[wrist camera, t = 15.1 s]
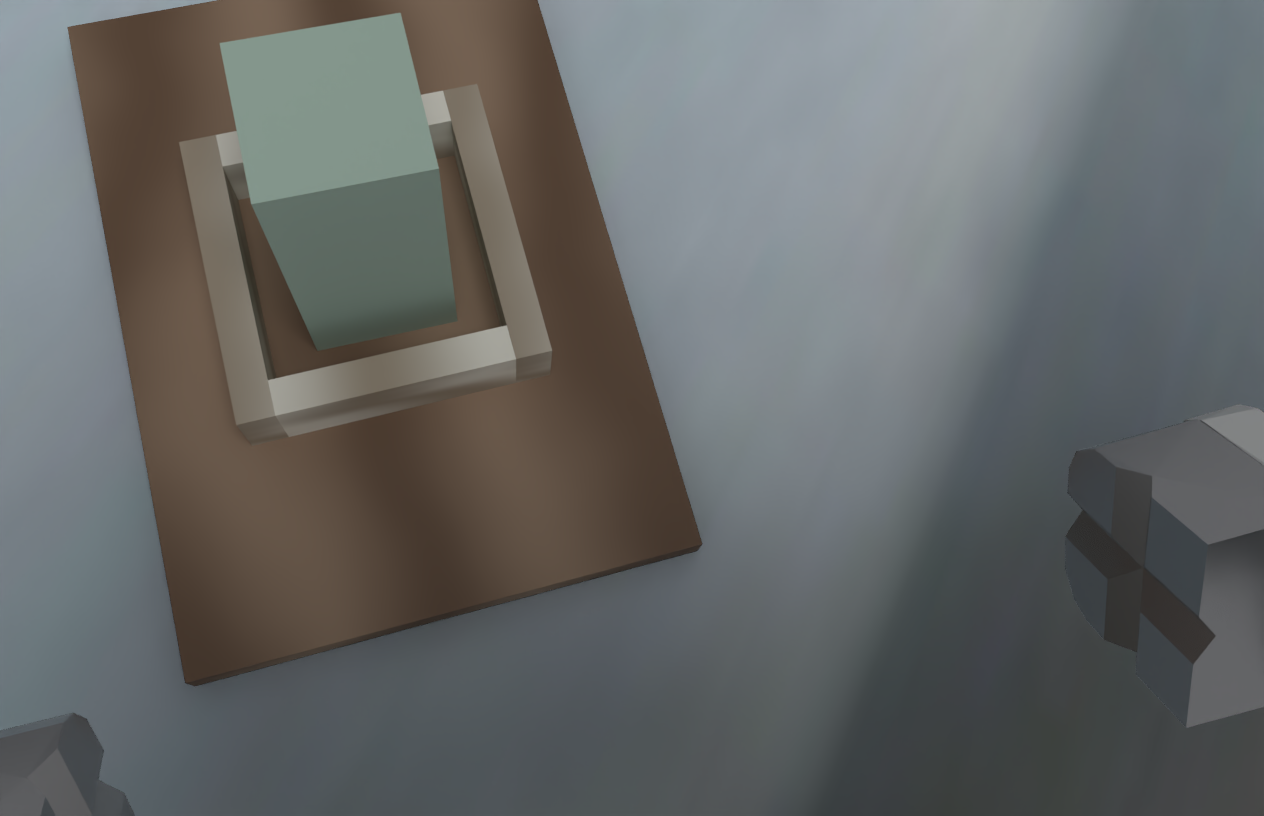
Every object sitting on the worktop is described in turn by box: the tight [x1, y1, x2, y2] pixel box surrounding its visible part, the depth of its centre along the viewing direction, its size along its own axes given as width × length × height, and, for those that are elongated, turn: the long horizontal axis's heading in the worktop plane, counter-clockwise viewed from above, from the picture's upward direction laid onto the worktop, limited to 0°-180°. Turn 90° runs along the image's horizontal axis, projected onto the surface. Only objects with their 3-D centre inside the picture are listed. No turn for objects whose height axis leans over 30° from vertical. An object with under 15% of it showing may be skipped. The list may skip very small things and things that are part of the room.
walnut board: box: [68, 0, 702, 686], centre depth 34 cm, size 14×20×3 cm
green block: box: [220, 13, 457, 351], centre depth 31 cm, size 4×4×9 cm
